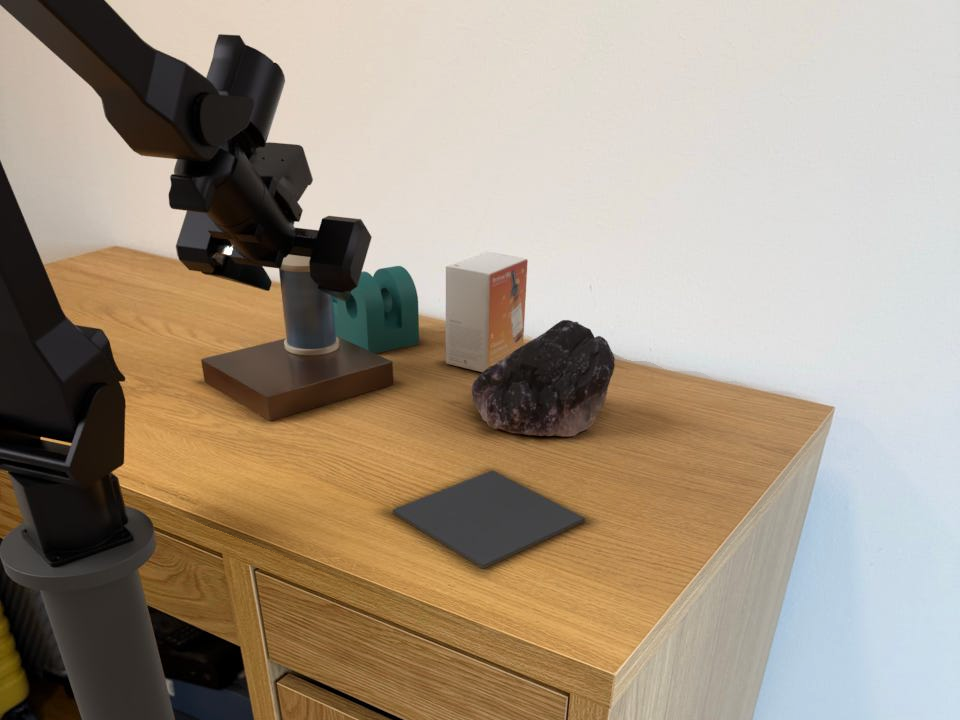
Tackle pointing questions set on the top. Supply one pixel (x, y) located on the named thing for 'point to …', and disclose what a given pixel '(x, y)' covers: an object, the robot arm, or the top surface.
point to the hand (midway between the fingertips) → (308, 291)
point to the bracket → (380, 311)
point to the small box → (484, 309)
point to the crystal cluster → (547, 383)
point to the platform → (295, 377)
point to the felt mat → (488, 518)
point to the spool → (306, 310)
